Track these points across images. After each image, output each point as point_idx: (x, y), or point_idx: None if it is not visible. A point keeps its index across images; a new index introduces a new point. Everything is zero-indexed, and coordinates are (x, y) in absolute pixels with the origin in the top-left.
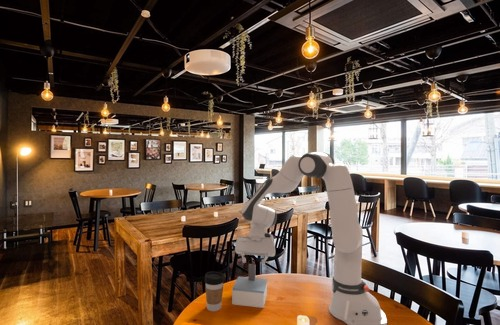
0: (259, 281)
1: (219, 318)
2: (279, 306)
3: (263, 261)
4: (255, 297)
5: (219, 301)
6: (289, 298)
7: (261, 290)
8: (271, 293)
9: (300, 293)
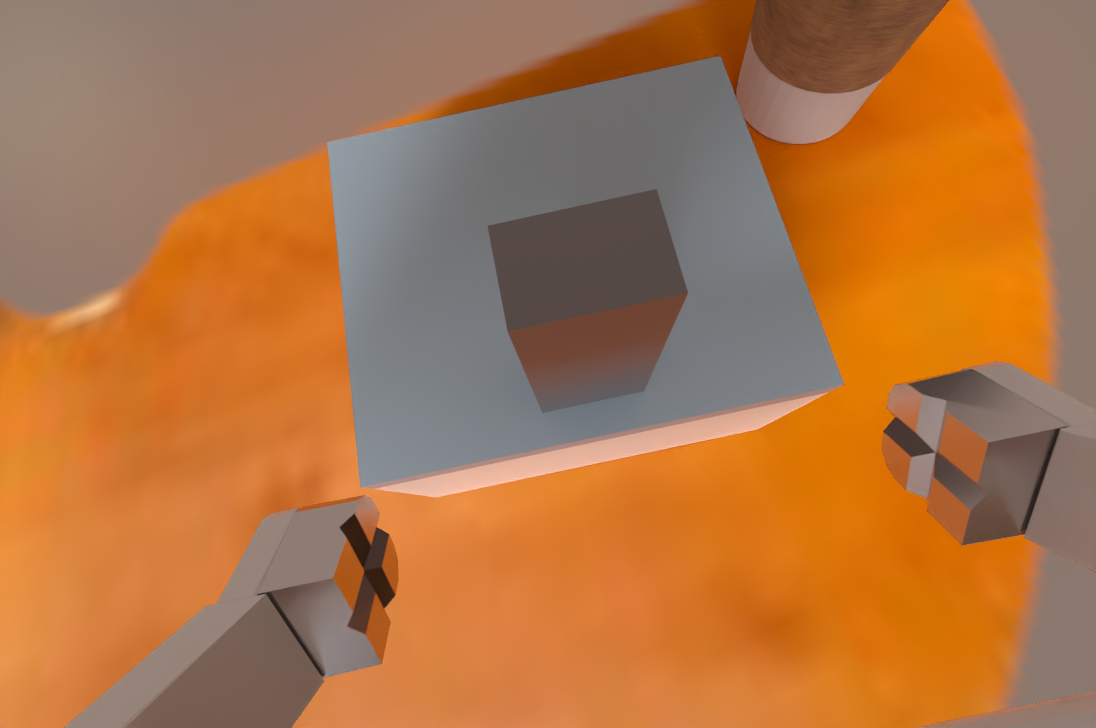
0: (453, 357)
1: (681, 26)
2: (278, 356)
3: (288, 536)
4: None
5: (756, 2)
6: (196, 545)
7: (359, 145)
8: (400, 574)
9: None
